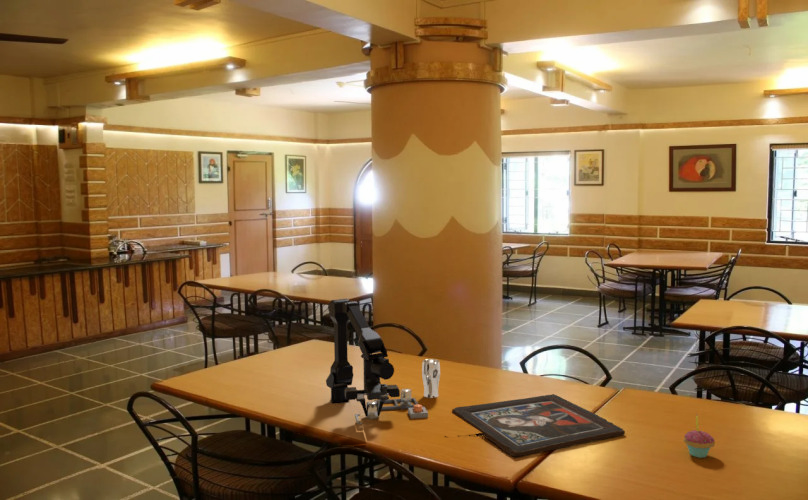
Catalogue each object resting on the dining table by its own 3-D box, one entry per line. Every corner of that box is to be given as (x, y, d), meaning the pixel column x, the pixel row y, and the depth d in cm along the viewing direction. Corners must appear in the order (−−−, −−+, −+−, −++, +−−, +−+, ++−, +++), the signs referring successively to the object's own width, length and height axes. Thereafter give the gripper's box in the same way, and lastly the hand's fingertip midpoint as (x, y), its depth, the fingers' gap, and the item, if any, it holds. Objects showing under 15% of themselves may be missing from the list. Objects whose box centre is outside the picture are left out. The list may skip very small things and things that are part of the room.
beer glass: (438, 402, 240) (438, 363, 239) (420, 401, 242) (420, 363, 240) (441, 396, 247) (441, 359, 246) (423, 395, 249) (423, 358, 247)
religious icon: (448, 416, 226) (448, 407, 226) (552, 400, 244) (552, 392, 244) (510, 461, 190) (510, 451, 189) (627, 438, 207) (627, 429, 207)
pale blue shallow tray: (357, 427, 216) (357, 423, 216) (355, 417, 225) (355, 414, 225) (390, 424, 218) (390, 421, 218) (386, 415, 227) (386, 412, 227)
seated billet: (401, 408, 231) (401, 392, 231) (399, 404, 235) (399, 389, 235) (412, 407, 232) (412, 391, 232) (410, 404, 236) (410, 388, 235)
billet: (367, 422, 219) (367, 405, 219) (366, 418, 223) (365, 401, 223) (378, 421, 220) (378, 404, 220) (377, 417, 224) (377, 400, 223)
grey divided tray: (376, 414, 228) (376, 407, 228) (374, 407, 236) (374, 400, 236) (418, 411, 231) (418, 405, 230) (414, 404, 238) (414, 397, 238)
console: (411, 422, 220) (411, 413, 220) (408, 416, 226) (408, 407, 226) (428, 421, 221) (427, 412, 221) (424, 415, 227) (424, 406, 227)
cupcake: (677, 449, 196) (679, 411, 195) (704, 448, 197) (705, 410, 196) (692, 461, 187) (694, 421, 186) (720, 459, 188) (721, 420, 187)
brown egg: (414, 418, 222) (414, 407, 221) (412, 415, 225) (412, 404, 224) (422, 418, 222) (422, 407, 222) (421, 415, 225) (421, 404, 225)
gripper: (346, 380, 211) (347, 426, 212) (402, 377, 214) (402, 422, 215) (344, 371, 222) (345, 414, 223) (397, 368, 225) (397, 411, 226)
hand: (372, 416), depth 222 cm, fingers closed on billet, 4 cm apart
